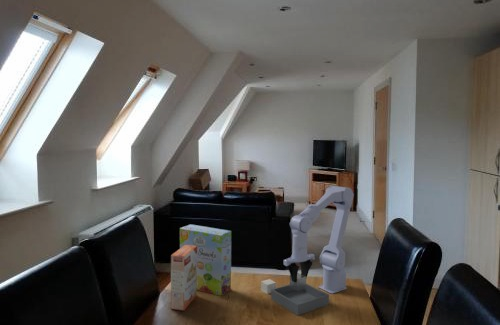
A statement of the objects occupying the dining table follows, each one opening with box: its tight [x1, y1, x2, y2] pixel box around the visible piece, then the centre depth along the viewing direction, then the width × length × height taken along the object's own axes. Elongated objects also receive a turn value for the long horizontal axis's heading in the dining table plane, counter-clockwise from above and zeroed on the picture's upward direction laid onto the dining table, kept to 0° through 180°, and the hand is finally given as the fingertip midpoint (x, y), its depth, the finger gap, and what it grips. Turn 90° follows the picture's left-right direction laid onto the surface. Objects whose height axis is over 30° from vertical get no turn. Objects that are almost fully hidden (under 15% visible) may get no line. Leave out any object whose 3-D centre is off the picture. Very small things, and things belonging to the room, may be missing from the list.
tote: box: [270, 283, 330, 316], centre depth 147 cm, size 16×16×4 cm
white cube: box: [260, 278, 277, 295], centre depth 157 cm, size 4×4×4 cm
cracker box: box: [170, 245, 198, 311], centre depth 144 cm, size 14×6×21 cm, turn 168°
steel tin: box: [289, 272, 307, 291], centre depth 148 cm, size 4×4×5 cm
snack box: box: [179, 224, 232, 297], centre depth 158 cm, size 22×9×26 cm, turn 62°
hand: (299, 280), depth 147 cm, fingers closed on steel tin, 4 cm apart
